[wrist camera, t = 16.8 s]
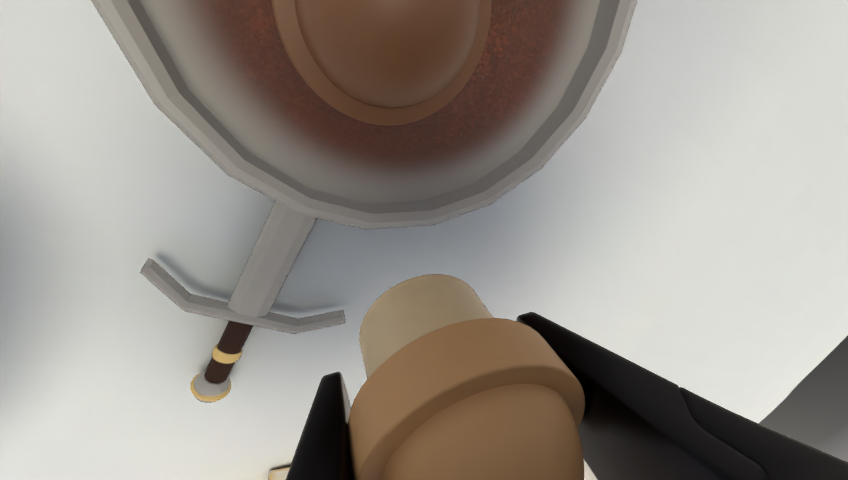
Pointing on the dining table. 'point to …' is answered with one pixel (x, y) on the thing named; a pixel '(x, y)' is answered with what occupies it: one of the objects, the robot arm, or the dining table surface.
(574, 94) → the frying pan
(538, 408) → the tan mushroom
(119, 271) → the dining table surface
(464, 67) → the brown mushroom
